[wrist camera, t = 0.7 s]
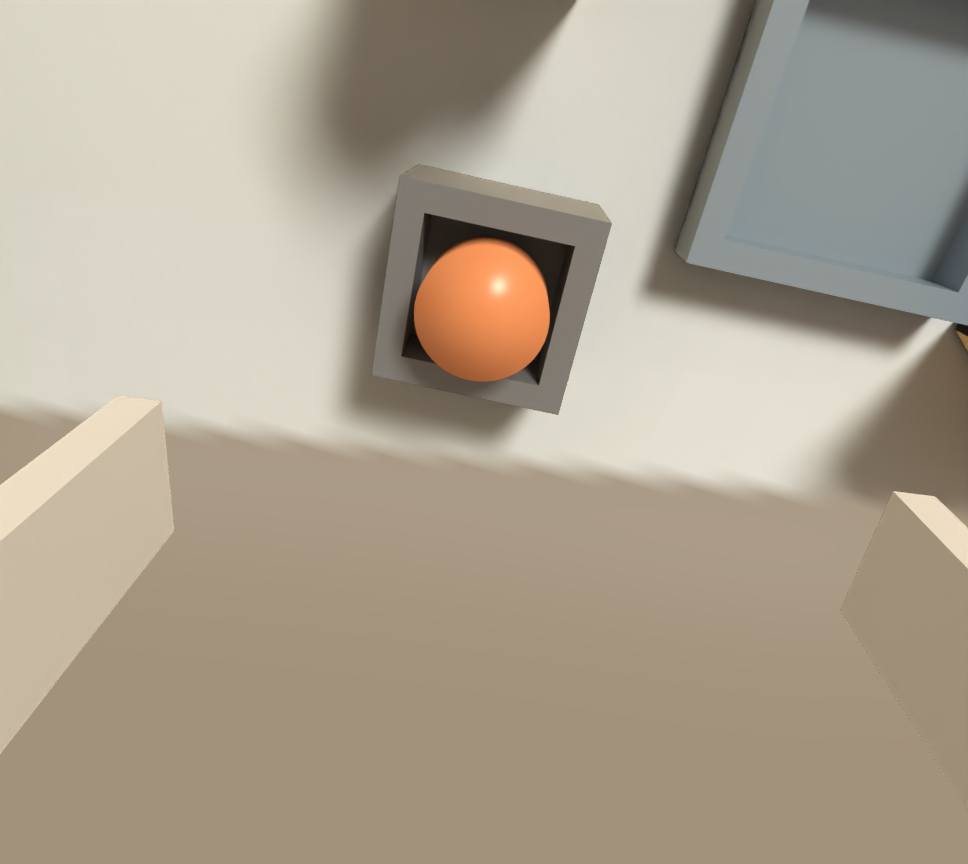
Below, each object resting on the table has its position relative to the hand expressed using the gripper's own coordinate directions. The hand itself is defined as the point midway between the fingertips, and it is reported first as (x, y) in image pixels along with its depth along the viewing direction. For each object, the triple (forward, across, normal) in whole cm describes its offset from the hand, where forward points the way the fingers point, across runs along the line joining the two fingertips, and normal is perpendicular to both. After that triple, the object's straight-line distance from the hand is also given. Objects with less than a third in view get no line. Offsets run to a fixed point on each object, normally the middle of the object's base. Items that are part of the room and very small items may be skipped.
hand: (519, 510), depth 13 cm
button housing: (+21, -1, -1) cm, 21 cm away
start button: (+16, -1, -1) cm, 16 cm away
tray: (+20, +14, +7) cm, 26 cm away
